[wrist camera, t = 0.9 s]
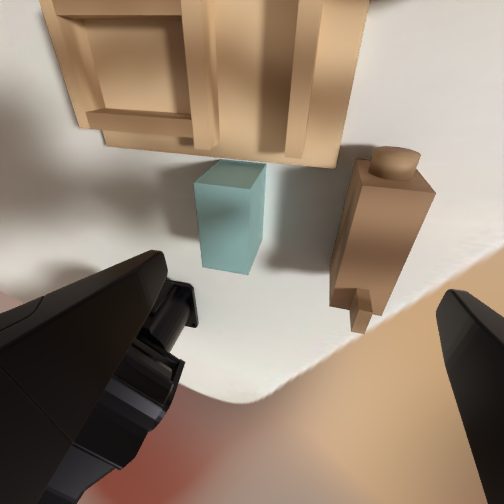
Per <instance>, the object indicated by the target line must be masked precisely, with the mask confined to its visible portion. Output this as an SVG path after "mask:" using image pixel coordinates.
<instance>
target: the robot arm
mask: <svg viewBox="0 0 504 504" xmlns="http://www.w3.org/2000/svg"><path fill="white" fill-rule="evenodd" d="M167 273H168V269H167V265H166V261H165V257H164V254H163V252H162V251H157V250H149V251H147V252H144V253H142V254H140V255H137V256H135V257H133V258H130V259H128V260H126V261H123V262H121V263H119V264H116V265H114V266H112V267H109V268H107V269H105V270H102V271H100V272H98V273H95V274H93V275H91V276H89V277H86V278H84V279H82V280H79V281H77V282H75V283H72V284H70V285H68V286H65V287H63V288H61V289H58V290H56V291H54V292H51V293H49V294H47V295H45V296H42V297H39V298H37V299H35V300H32V301H30V302H28V303H25V304H23V305H21V306H18V307H16V308H13V309H11V310H9V311H6V312H3V313H1V314H0V504H77V502H78V501H79V499H80V498H81V496H82V495H83V493H84V491H85V490H87V489H88V488H89V487H91V486H92V485H93V484H95V483H96V482H98V481H99V480H100V479H102V478H103V477H104V476H106V475H107V474H108V473H110V472H111V471H112V470H114V469H115V468H116V469H118V470H121V469H122V468H124V467H125V466H126V465H127V464H128V463H129V462H131V461H132V460H133V459H134V458H135V456H136V455H137V453H138V451H139V449H140V447H141V445H142V443H143V441H144V439H145V437H146V435H147V433H148V432H150V431H152V430H153V429H154V428H155V427H156V426H157V425H158V424H159V423H160V421H161V420H162V418H163V417H164V415H165V414H166V412H167V410H168V409H169V407H170V405H171V403H172V400H173V397H174V395H175V392H176V389H177V386H178V383H179V380H180V377H181V374H182V370H183V367H184V364H185V362H184V361H183V360H181V359H178V358H177V357H175V356H174V355H172V354H171V353H170V351H171V349H172V348H173V346H174V344H175V342H176V340H177V339H178V337H179V335H180V333H181V332H182V330H183V328H184V326H188V327H193V328H196V327H197V326H198V316H197V308H196V301H195V294H194V288H193V286H191V285H189V284H184V283H178V282H173V281H168V280H165V279H166V277H167ZM436 319H437V325H438V330H439V336H440V340H441V347H442V352H443V358H444V362H445V367H446V370H447V374H448V377H449V380H450V383H451V386H452V390H453V393H454V396H455V399H456V403H457V406H458V409H459V412H460V415H461V418H462V421H463V425H464V428H465V431H466V435H467V438H468V441H469V444H470V448H471V451H472V454H473V457H474V460H475V463H476V467H477V470H478V473H479V477H480V480H481V483H482V486H483V489H484V493H485V496H486V499H487V502H488V504H504V317H502V316H501V315H500V314H498V313H496V312H495V311H494V310H492V309H491V308H490V307H488V306H487V305H485V304H484V303H482V302H481V301H480V300H478V299H477V298H475V297H474V296H472V295H471V294H469V293H468V292H467V291H462V290H456V289H449V290H447V291H446V293H445V295H444V296H443V299H442V300H441V302H440V304H439V306H438V308H437V310H436Z"/></svg>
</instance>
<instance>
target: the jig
mask: <svg viewBox="0 0 504 504" xmlns="http://www.w3.org/2000/svg"><path fill="white" fill-rule="evenodd" d="M39 2H40V5H41V8H42V11H43V15H44V18H45V21H46V24H47V27H48V30H49V33H50V36H51V40H52V43H53V46H54V49H55V52H56V55H57V58H58V61H59V65H60V68H61V71H62V74H63V77H64V80H65V83H66V86H67V90H68V93H69V96H70V99H71V102H72V105H73V108H74V111H75V115H76V118H77V121H78V124H79V127H80V128H86V129H97V130H102V131H103V135H104V138H105V142H106V145H107V146H108V147H119V148H129V149H139V150H149V151H159V152H169V153H179V154H189V155H200V156H210V157H220V158H230V159H240V160H250V161H260V162H270V163H281V164H291V165H301V166H311V167H321V168H331V169H335V168H336V163H337V158H338V153H339V148H340V143H341V138H342V134H343V129H344V124H345V119H346V114H347V109H348V104H349V100H350V95H351V90H352V85H353V80H354V75H355V70H356V66H357V61H358V56H359V51H360V46H361V41H362V36H363V31H364V27H365V22H366V17H367V12H368V7H369V2H370V0H39Z"/></svg>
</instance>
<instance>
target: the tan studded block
mask: <svg viewBox="0 0 504 504" xmlns="http://www.w3.org/2000/svg"><path fill="white" fill-rule="evenodd" d="M420 156H421V154H420V153H418V152H416V151H413V150H410V149H405V148H400V147H389V146H383V147H376V148H375V149H374V151H373V155H372V158H371V160H362V159H356V160H355V164H354V168H353V172H352V176H351V180H350V184H349V188H348V192H347V197H346V201H345V205H344V209H343V213H342V217H341V221H340V225H339V229H338V234H337V238H336V242H335V246H334V250H333V254H332V258H331V262H330V303H329V306H331V307H336V308H341V309H347V310H350V323H351V332H356V333H361V334H364V333H365V331H366V328H367V326H368V324H369V321H370V319H371V316H372V314H374V315H379V316H382V313H383V311H384V309H385V307H386V304H387V302H388V300H389V298H390V295H391V293H392V291H393V289H394V286H395V284H396V282H397V280H398V277H399V275H400V273H401V271H402V268H403V266H404V264H405V262H406V260H407V257H408V255H409V253H410V251H411V248H412V246H413V244H414V242H415V239H416V237H417V235H418V233H419V230H420V228H421V226H422V224H423V221H424V219H425V217H426V215H427V212H428V210H429V208H430V206H431V203H432V201H433V199H434V197H435V195H436V192H435V191H434V190H433V189H432V188H431V186H430V185H429V184H428V183H427V181H426V180H425V179H424V178H423V176H422V175H421V174H420V173H419V171H418V170H417V169H416V167H417V164H418V162H419V159H420Z"/></svg>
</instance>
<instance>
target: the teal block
mask: <svg viewBox="0 0 504 504" xmlns="http://www.w3.org/2000/svg"><path fill="white" fill-rule="evenodd" d="M265 180H266V164H263V163H253V162H243V161H233V160H223V159H220V160H219V161H218V162H217V163H216V164H214V165H213V166H212V167H211V168H210V169H209V170H208V171H206V172H205V173H204V174H203V175H202V176H201V177H199V178H198V179H197V180H196V181H195V182H194V191H195V201H196V210H197V220H198V229H199V239H200V249H201V258H202V267H205V268H210V269H216V270H222V271H227V272H233V273H239V274H244V275H248V274H249V272H250V269H251V267H252V264H253V262H254V259H255V257H256V254H257V251H258V249H259V246H260V244H261V241H262V234H263V216H264V198H265Z"/></svg>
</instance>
